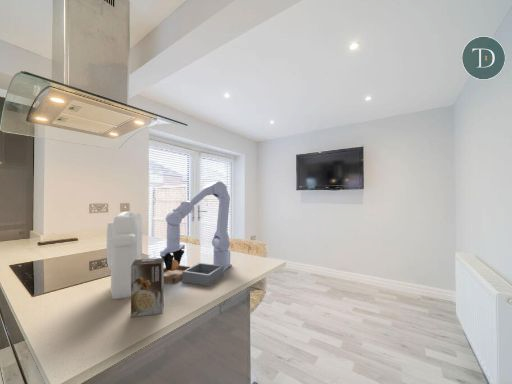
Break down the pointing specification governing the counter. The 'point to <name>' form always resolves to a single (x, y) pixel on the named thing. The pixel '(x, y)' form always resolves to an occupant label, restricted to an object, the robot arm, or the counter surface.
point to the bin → (202, 274)
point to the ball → (174, 265)
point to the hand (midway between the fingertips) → (172, 268)
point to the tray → (174, 274)
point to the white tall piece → (123, 251)
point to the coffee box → (147, 287)
